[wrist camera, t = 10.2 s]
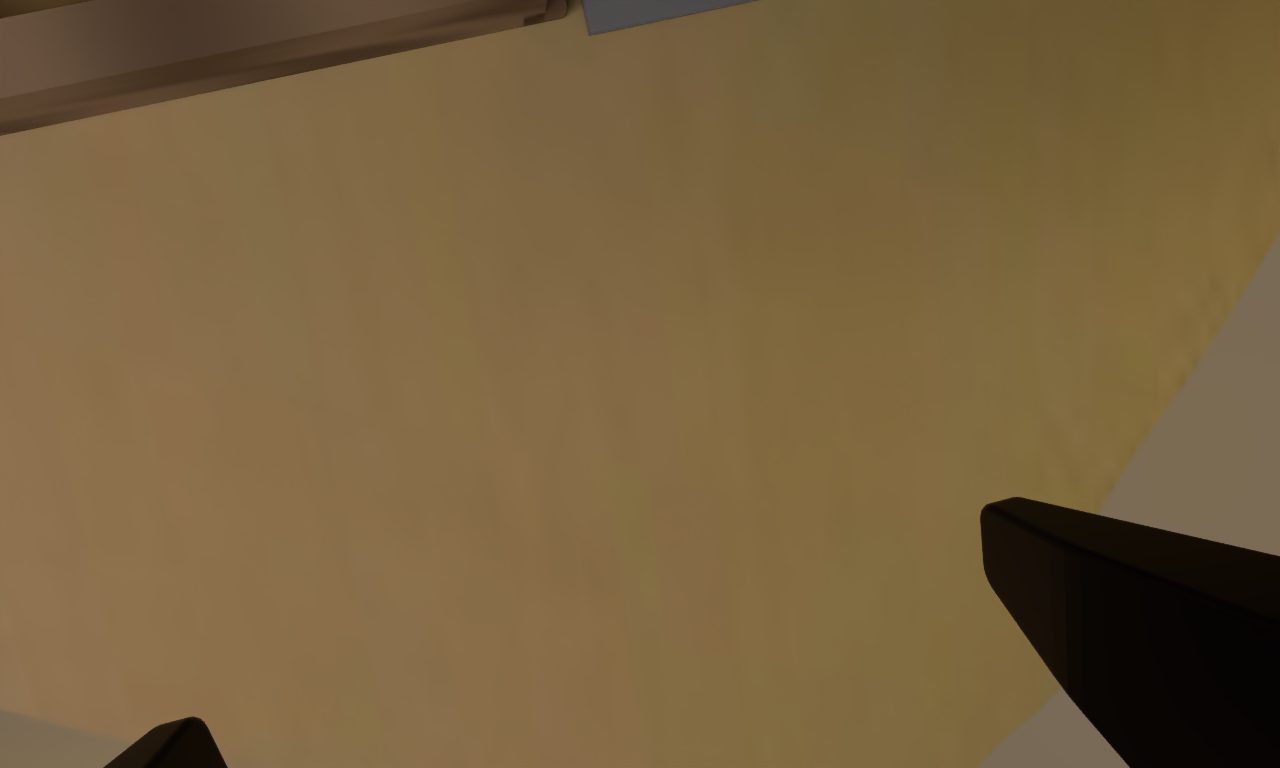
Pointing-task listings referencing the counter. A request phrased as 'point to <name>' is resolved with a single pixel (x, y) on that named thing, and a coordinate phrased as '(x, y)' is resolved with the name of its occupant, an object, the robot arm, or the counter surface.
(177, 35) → the rack
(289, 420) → the counter surface
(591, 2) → the rubber mat
